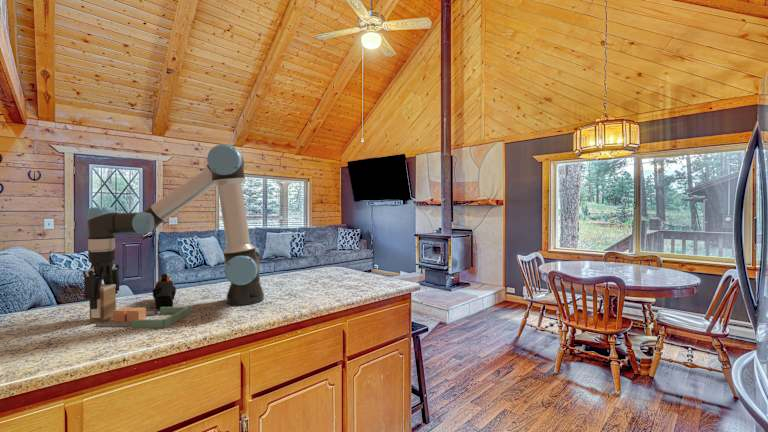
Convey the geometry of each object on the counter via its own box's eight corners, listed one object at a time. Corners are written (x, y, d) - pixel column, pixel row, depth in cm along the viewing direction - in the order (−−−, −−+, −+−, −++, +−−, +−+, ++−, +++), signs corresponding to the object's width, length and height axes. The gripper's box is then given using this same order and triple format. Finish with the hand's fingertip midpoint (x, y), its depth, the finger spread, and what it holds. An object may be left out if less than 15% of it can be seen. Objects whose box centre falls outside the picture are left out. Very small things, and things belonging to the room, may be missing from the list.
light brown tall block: (116, 317, 130) (115, 284, 129) (104, 322, 124) (103, 287, 123) (102, 317, 130) (101, 284, 129) (89, 322, 124) (88, 287, 123)
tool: (152, 328, 138) (150, 296, 133) (155, 294, 156) (153, 265, 151) (176, 325, 142) (175, 293, 137) (176, 292, 160) (175, 263, 155)
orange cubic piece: (132, 318, 129) (132, 307, 129) (124, 322, 125) (124, 310, 125) (121, 318, 129) (121, 307, 129) (113, 321, 125) (112, 310, 125)
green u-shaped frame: (190, 313, 135) (190, 306, 135) (165, 327, 119) (165, 320, 119) (161, 313, 135) (161, 306, 135) (132, 327, 119) (132, 320, 119)
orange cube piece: (146, 318, 129) (146, 307, 129) (138, 322, 125) (138, 310, 125) (135, 318, 129) (134, 307, 129) (127, 322, 125) (127, 310, 125)
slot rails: (157, 313, 134) (157, 311, 134) (131, 326, 120) (131, 323, 120) (125, 313, 134) (125, 311, 134) (95, 326, 120) (95, 323, 120)
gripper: (111, 247, 135) (112, 307, 136) (68, 254, 117) (69, 323, 117) (130, 247, 135) (131, 307, 136) (91, 254, 117) (92, 323, 117)
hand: (103, 314), depth 127 cm, fingers closed on light brown tall block, 5 cm apart
